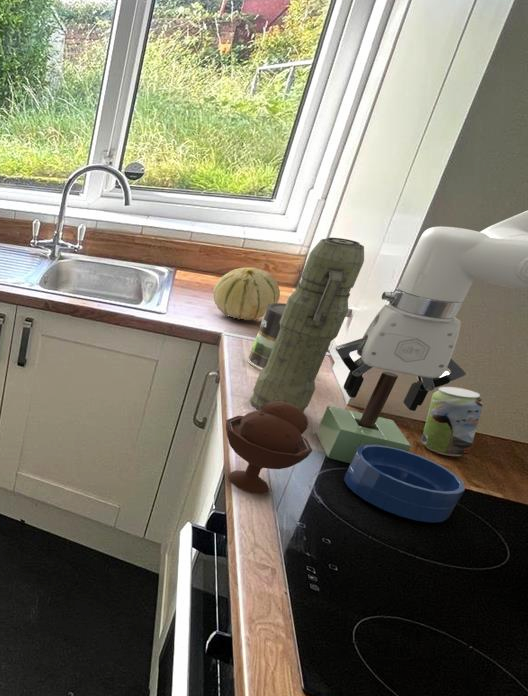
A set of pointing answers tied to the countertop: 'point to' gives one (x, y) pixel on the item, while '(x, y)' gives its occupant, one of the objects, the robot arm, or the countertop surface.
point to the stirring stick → (377, 399)
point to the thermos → (310, 323)
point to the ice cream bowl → (267, 442)
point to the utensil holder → (355, 434)
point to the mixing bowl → (404, 483)
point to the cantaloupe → (246, 293)
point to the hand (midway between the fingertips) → (379, 399)
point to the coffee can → (266, 335)
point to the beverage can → (452, 421)
